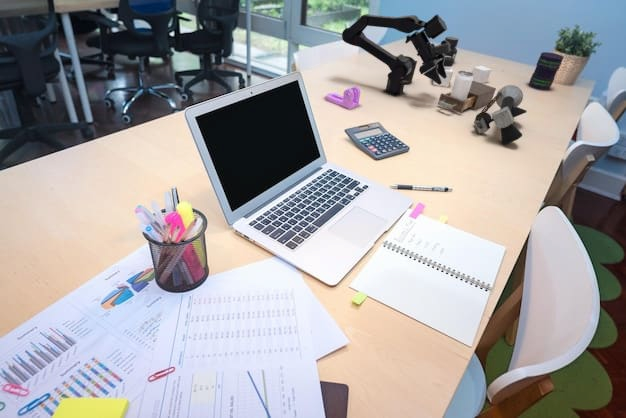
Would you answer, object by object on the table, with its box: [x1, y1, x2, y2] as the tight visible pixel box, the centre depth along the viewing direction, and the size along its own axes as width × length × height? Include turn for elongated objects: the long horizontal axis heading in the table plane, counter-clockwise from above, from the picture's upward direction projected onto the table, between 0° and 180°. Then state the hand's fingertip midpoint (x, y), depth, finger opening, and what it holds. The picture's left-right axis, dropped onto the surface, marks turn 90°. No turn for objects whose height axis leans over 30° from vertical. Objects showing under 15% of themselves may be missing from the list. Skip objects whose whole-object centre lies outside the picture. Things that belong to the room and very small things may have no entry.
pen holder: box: [403, 55, 418, 85], centre depth 177 cm, size 9×9×10 cm
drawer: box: [437, 91, 476, 114], centre depth 156 cm, size 19×10×4 cm, turn 134°
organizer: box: [468, 81, 497, 111], centre depth 164 cm, size 16×12×6 cm
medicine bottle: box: [432, 56, 455, 88], centre depth 178 cm, size 7×7×12 cm
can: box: [450, 70, 473, 101], centre depth 154 cm, size 6×6×12 cm
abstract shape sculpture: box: [473, 84, 527, 145], centre depth 142 cm, size 15×13×30 cm
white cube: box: [471, 65, 492, 84], centre depth 189 cm, size 6×6×6 cm
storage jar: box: [528, 52, 565, 91], centre depth 186 cm, size 10×10×15 cm
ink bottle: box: [444, 36, 460, 64], centre depth 211 cm, size 10×9×12 cm
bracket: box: [326, 85, 361, 110], centre depth 151 cm, size 13×6×7 cm, turn 50°
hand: (443, 80), depth 155 cm, fingers open, 9 cm apart
